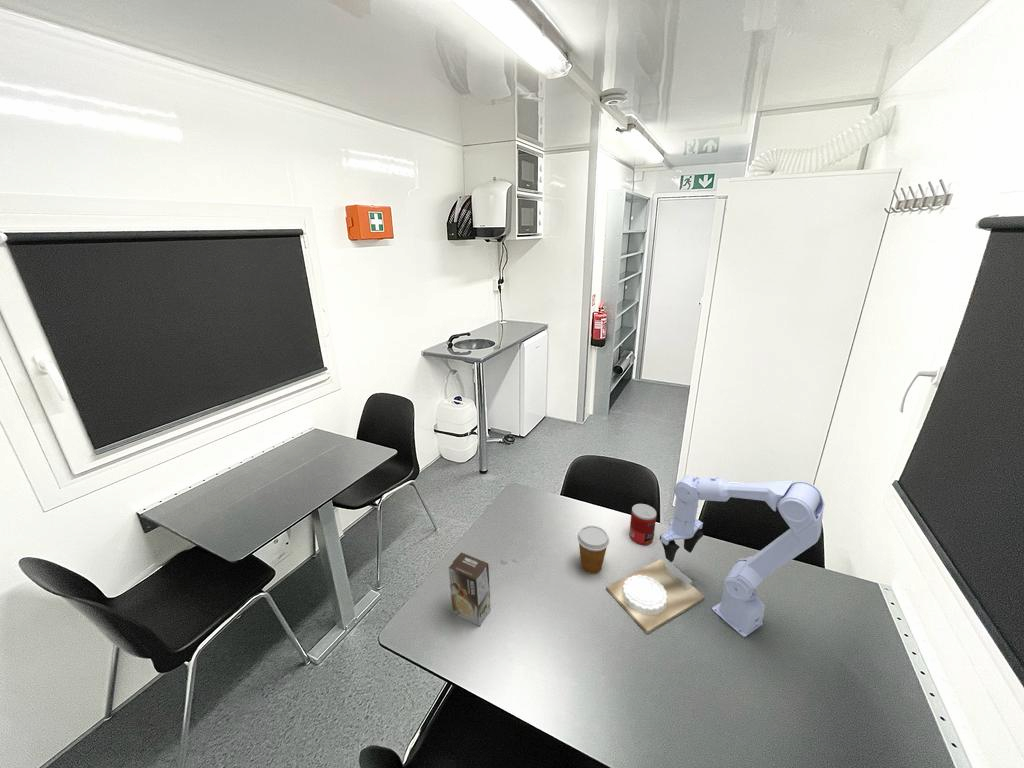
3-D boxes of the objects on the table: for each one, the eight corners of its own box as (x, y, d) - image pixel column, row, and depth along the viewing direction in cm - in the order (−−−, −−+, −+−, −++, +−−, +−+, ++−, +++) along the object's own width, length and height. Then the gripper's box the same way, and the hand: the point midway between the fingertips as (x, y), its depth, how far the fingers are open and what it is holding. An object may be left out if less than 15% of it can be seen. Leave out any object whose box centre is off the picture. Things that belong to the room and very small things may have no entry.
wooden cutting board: (704, 599, 112) (706, 590, 111) (647, 633, 102) (648, 624, 101) (660, 561, 125) (661, 552, 124) (606, 589, 116) (606, 580, 114)
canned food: (648, 549, 131) (652, 521, 127) (625, 538, 135) (628, 512, 131) (656, 536, 136) (660, 509, 133) (633, 526, 141) (636, 500, 137)
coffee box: (492, 608, 110) (490, 563, 105) (479, 627, 105) (477, 580, 99) (464, 595, 114) (461, 551, 109) (451, 613, 109) (447, 567, 103)
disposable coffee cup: (604, 555, 128) (607, 525, 124) (608, 579, 119) (611, 547, 115) (575, 553, 129) (576, 523, 125) (576, 577, 120) (578, 545, 116)
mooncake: (624, 578, 119) (624, 569, 118) (666, 588, 115) (667, 578, 114) (620, 611, 109) (620, 601, 108) (666, 623, 105) (667, 613, 104)
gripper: (690, 500, 117) (684, 538, 122) (654, 516, 111) (649, 554, 116) (711, 514, 111) (704, 552, 116) (674, 531, 105) (668, 571, 110)
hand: (678, 554), depth 115 cm, fingers open, 7 cm apart
